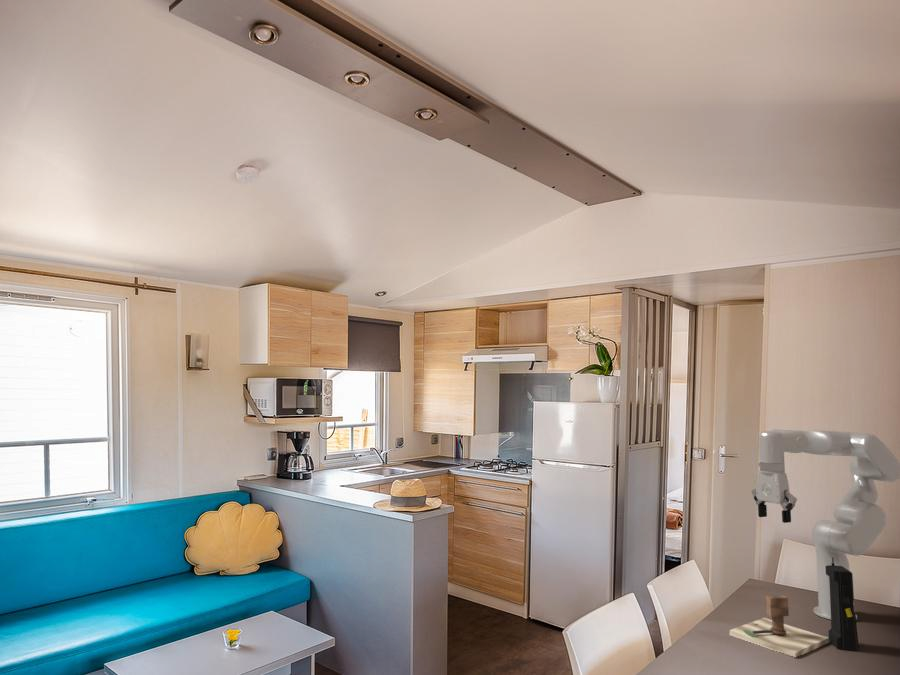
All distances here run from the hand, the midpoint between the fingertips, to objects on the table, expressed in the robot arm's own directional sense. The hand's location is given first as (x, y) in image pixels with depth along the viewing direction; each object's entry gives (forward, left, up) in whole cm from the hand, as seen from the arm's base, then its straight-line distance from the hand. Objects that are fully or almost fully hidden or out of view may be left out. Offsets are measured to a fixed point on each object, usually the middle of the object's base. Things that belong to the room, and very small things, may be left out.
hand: (774, 519), depth 207 cm
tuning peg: (+17, +7, -31) cm, 36 cm away
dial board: (+15, +8, -33) cm, 37 cm away
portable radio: (+4, +22, -33) cm, 40 cm away
